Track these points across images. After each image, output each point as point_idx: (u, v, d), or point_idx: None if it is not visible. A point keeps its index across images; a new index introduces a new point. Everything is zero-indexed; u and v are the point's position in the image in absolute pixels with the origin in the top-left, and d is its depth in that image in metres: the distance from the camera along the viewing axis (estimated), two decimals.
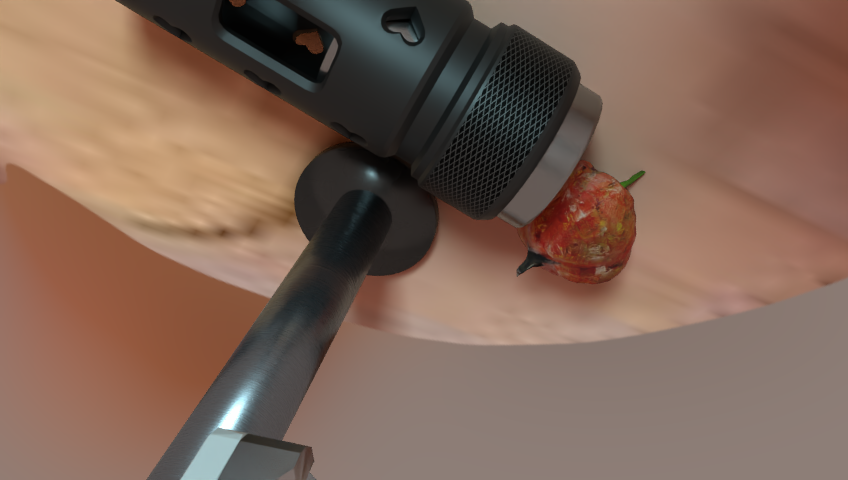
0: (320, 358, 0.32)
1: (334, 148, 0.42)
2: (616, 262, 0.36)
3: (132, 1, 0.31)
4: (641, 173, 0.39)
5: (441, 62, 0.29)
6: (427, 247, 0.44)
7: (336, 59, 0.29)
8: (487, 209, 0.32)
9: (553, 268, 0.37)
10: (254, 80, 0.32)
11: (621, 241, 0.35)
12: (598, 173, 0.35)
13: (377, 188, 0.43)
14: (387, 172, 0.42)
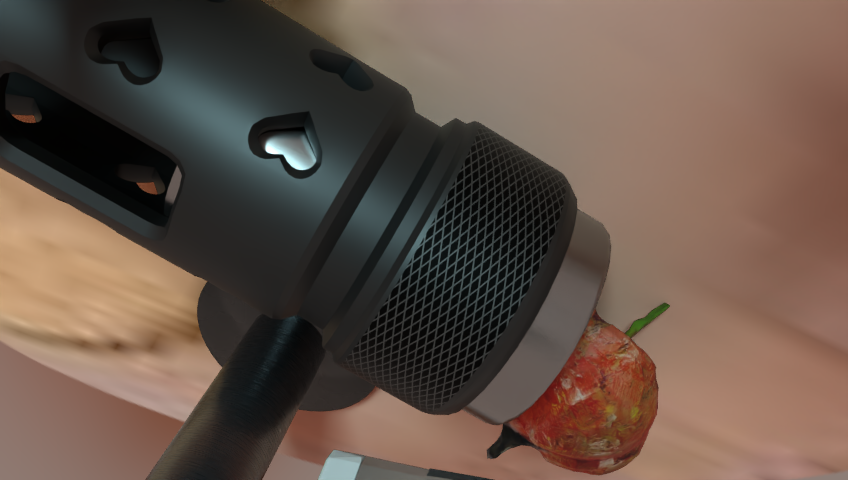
0: None
1: None
2: (629, 451, 0.25)
3: None
4: (664, 307, 0.28)
5: (349, 202, 0.18)
6: None
7: (179, 197, 0.18)
8: (433, 411, 0.21)
9: (539, 450, 0.26)
10: None
11: (637, 430, 0.24)
12: (604, 327, 0.24)
13: None
14: None
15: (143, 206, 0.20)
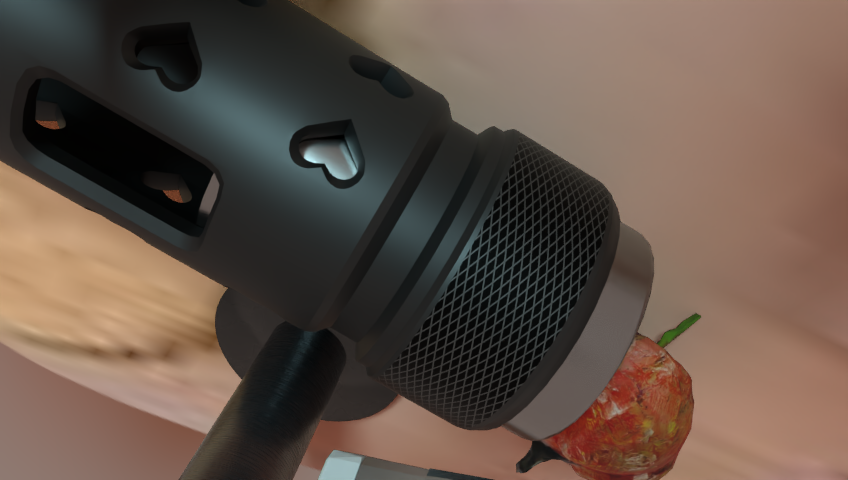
0: None
1: None
2: (663, 465, 0.25)
3: None
4: (695, 318, 0.27)
5: (392, 213, 0.17)
6: (395, 393, 0.33)
7: (216, 208, 0.17)
8: (471, 427, 0.20)
9: (569, 464, 0.26)
10: None
11: (673, 445, 0.23)
12: (639, 339, 0.24)
13: None
14: None
15: (175, 216, 0.19)
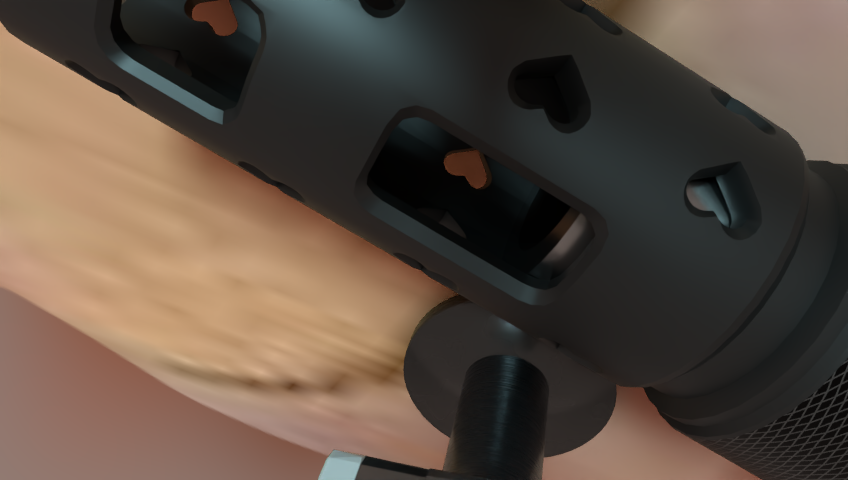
0: None
1: None
2: None
3: (203, 138, 0.17)
4: None
5: (785, 265, 0.16)
6: (596, 431, 0.31)
7: (592, 260, 0.16)
8: None
9: None
10: (406, 261, 0.19)
11: None
12: None
13: (533, 355, 0.29)
14: None
15: (507, 264, 0.17)
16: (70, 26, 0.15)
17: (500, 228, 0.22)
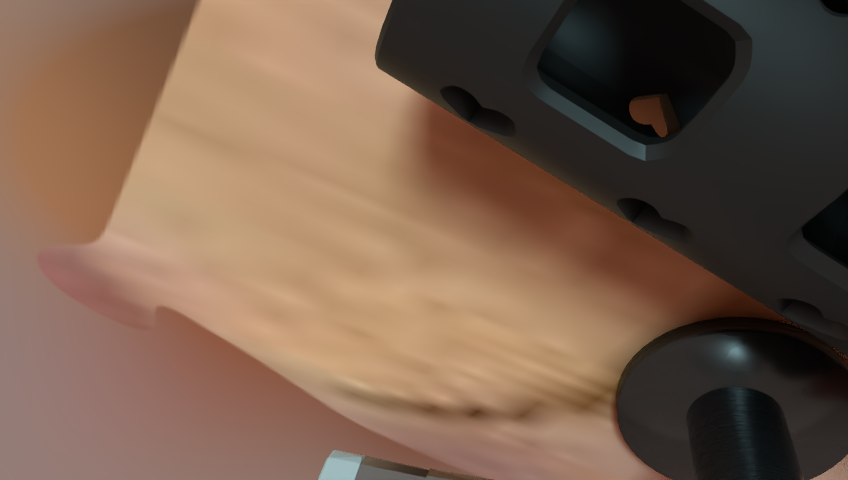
0: None
1: (715, 329, 0.27)
2: None
3: (595, 173, 0.15)
4: None
5: None
6: (828, 467, 0.29)
7: None
8: None
9: None
10: (777, 304, 0.17)
11: None
12: None
13: (775, 388, 0.27)
14: (803, 369, 0.27)
15: None
16: (495, 51, 0.14)
17: None
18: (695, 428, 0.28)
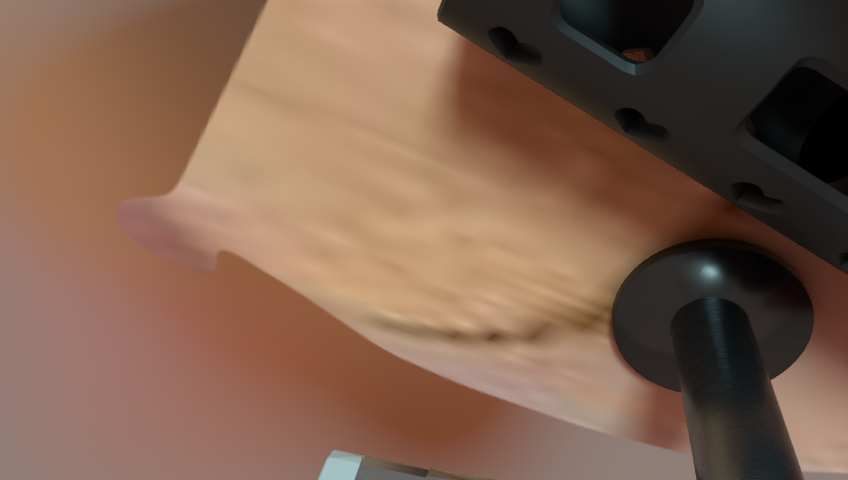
0: None
1: (692, 248, 0.33)
2: None
3: (599, 89, 0.22)
4: None
5: None
6: (787, 366, 0.35)
7: None
8: None
9: None
10: (732, 192, 0.23)
11: None
12: None
13: (741, 297, 0.34)
14: (763, 279, 0.33)
15: None
16: None
17: None
18: (677, 331, 0.34)
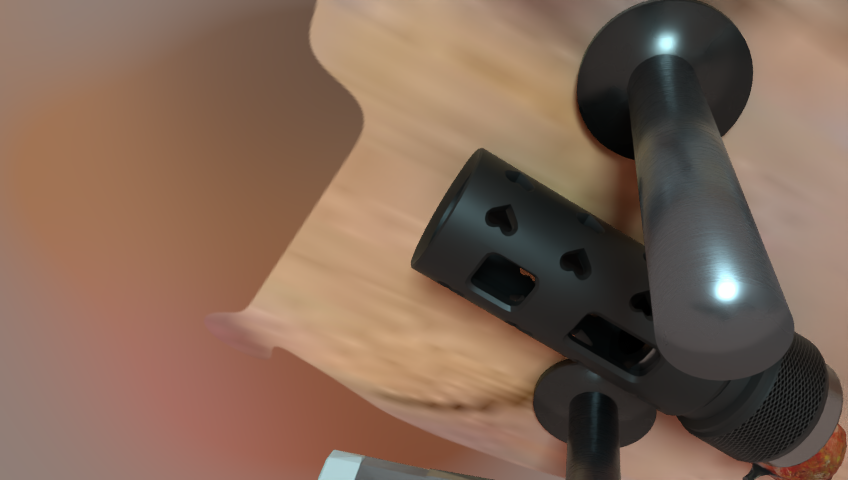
0: None
1: None
2: (828, 477, 0.47)
3: (494, 312, 0.41)
4: None
5: None
6: (644, 434, 0.55)
7: (659, 367, 0.39)
8: (753, 461, 0.42)
9: (773, 477, 0.48)
10: (572, 359, 0.43)
11: (837, 467, 0.45)
12: None
13: (610, 392, 0.53)
14: None
15: (620, 364, 0.41)
16: (455, 276, 0.39)
17: (605, 336, 0.46)
18: (570, 413, 0.53)
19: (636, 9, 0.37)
